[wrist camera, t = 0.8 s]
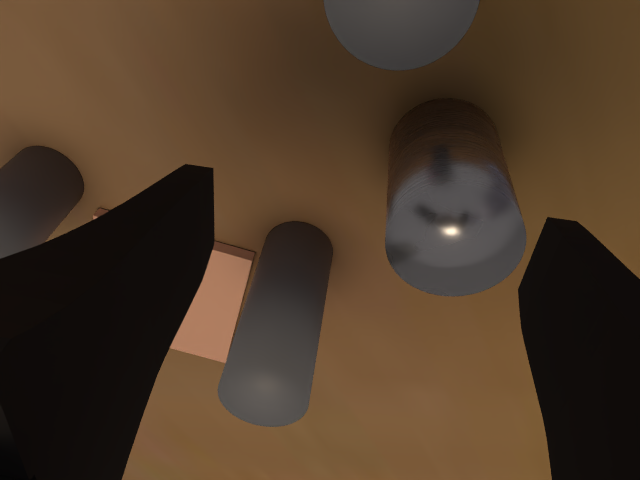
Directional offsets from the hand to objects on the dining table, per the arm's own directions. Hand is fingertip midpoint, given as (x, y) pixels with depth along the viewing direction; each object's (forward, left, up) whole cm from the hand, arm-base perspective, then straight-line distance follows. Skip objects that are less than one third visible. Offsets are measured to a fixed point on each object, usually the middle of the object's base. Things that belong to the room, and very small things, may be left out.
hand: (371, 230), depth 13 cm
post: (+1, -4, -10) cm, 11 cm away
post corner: (+1, +9, -10) cm, 13 cm away
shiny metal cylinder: (-3, +2, -10) cm, 10 cm away
